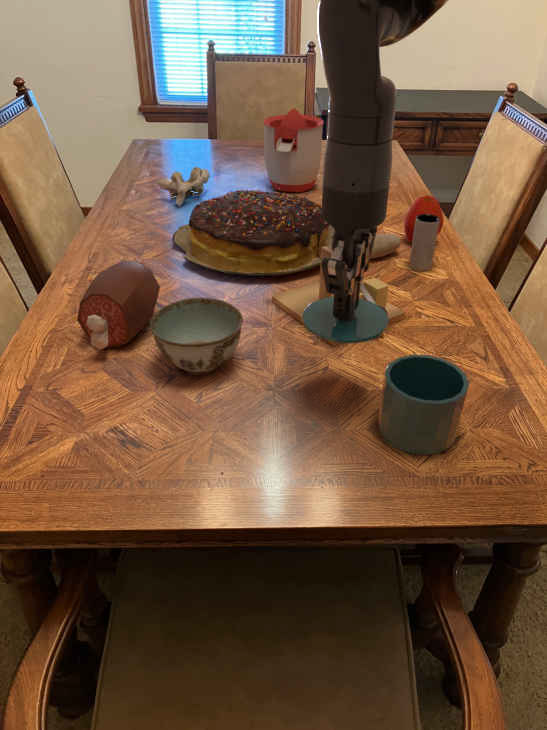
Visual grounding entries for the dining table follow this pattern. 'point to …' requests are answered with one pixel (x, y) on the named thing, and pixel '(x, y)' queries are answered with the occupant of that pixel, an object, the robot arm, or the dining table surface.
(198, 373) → the bowl
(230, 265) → the cake
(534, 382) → the dining table surface
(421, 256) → the gray cylinder
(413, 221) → the red egg
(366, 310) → the crock lid
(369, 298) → the ball tipped lever
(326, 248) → the wooden lever switch base
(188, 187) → the tan ginger root
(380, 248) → the stone
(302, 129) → the citrus juicer
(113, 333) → the meat
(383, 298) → the yellow rectangular block
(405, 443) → the crock
